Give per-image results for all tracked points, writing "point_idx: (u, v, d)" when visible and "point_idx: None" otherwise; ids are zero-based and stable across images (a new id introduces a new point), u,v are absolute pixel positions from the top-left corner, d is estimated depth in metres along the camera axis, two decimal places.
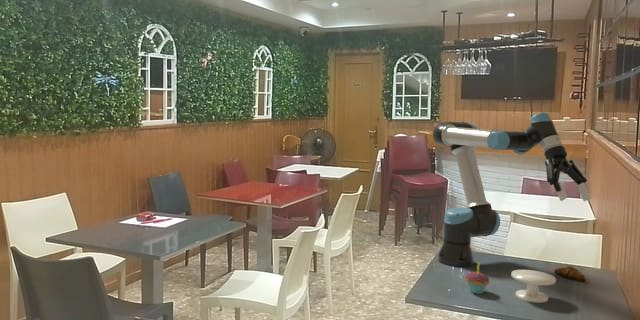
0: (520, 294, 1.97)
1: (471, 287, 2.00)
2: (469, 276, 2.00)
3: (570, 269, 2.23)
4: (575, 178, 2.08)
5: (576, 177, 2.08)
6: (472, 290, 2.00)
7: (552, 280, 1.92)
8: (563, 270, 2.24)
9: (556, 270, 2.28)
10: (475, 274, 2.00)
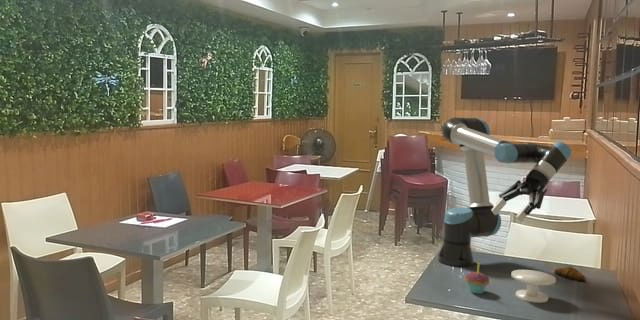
0: (520, 294, 1.97)
1: (471, 287, 2.00)
2: (469, 276, 2.00)
3: (570, 269, 2.23)
4: (510, 196, 2.10)
5: (511, 197, 2.10)
6: (472, 290, 2.00)
7: (552, 280, 1.92)
8: (563, 270, 2.24)
9: (556, 270, 2.28)
10: (475, 274, 2.00)
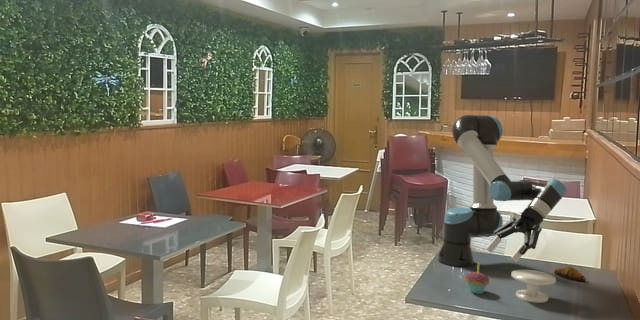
0: (520, 294, 1.97)
1: (471, 287, 2.00)
2: (469, 276, 2.00)
3: (569, 269, 2.23)
4: (505, 233, 2.09)
5: (506, 234, 2.09)
6: (472, 290, 2.00)
7: (552, 280, 1.92)
8: (563, 270, 2.24)
9: (556, 270, 2.28)
10: (475, 274, 2.00)
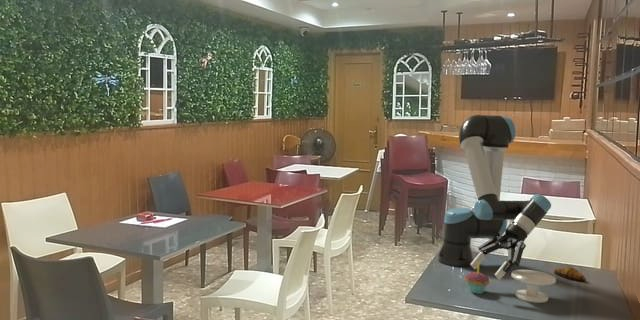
0: (520, 294, 1.97)
1: (471, 287, 2.00)
2: (469, 276, 2.00)
3: (569, 269, 2.23)
4: (489, 250, 2.07)
5: (490, 251, 2.07)
6: (472, 290, 2.00)
7: (552, 280, 1.92)
8: (563, 270, 2.24)
9: (556, 270, 2.28)
10: (475, 274, 2.00)
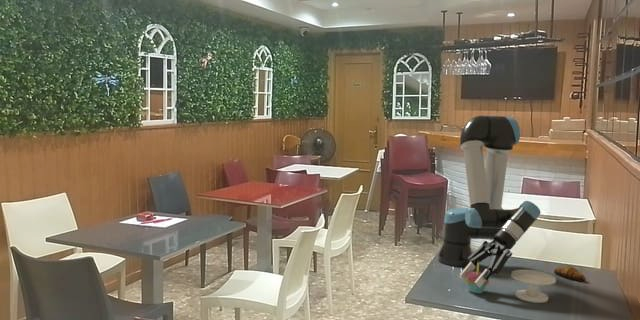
0: (520, 294, 1.97)
1: (471, 287, 2.00)
2: (469, 276, 2.00)
3: (569, 268, 2.23)
4: (479, 259, 2.05)
5: (480, 260, 2.05)
6: (472, 290, 2.00)
7: (552, 280, 1.92)
8: (562, 270, 2.24)
9: (555, 270, 2.28)
10: (475, 274, 2.00)
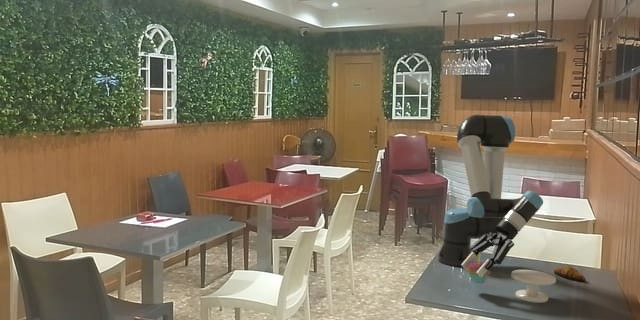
0: (520, 294, 1.97)
1: (472, 277, 1.99)
2: (470, 266, 1.99)
3: (569, 269, 2.23)
4: (481, 249, 2.04)
5: (482, 249, 2.04)
6: (473, 280, 1.99)
7: (552, 280, 1.92)
8: (562, 270, 2.24)
9: (555, 270, 2.28)
10: (476, 264, 1.99)
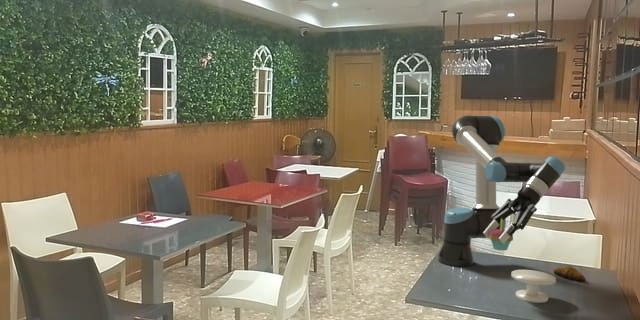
0: (520, 294, 1.97)
1: (494, 244, 1.96)
2: (492, 233, 1.96)
3: (569, 269, 2.23)
4: (503, 216, 2.01)
5: (504, 217, 2.01)
6: (496, 247, 1.96)
7: (552, 280, 1.92)
8: (562, 270, 2.24)
9: (555, 270, 2.28)
10: (498, 231, 1.96)
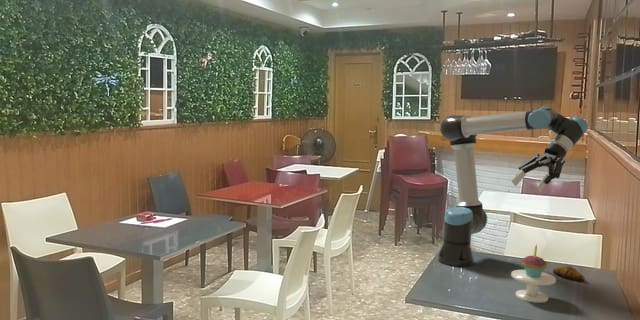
0: (520, 294, 1.97)
1: (528, 271, 1.95)
2: (526, 260, 1.95)
3: (568, 268, 2.22)
4: (529, 168, 2.22)
5: (530, 169, 2.22)
6: (529, 274, 1.95)
7: (552, 280, 1.92)
8: (561, 270, 2.24)
9: (554, 270, 2.28)
10: (532, 258, 1.95)
